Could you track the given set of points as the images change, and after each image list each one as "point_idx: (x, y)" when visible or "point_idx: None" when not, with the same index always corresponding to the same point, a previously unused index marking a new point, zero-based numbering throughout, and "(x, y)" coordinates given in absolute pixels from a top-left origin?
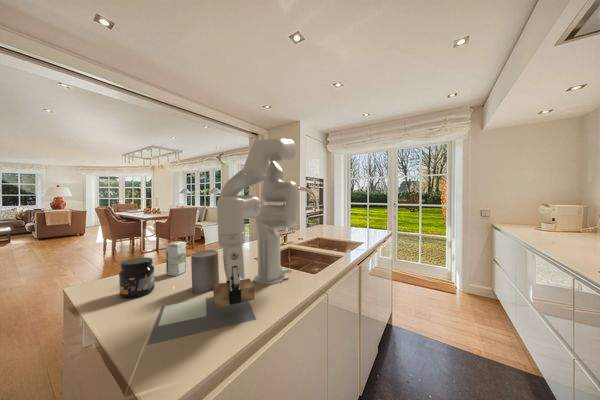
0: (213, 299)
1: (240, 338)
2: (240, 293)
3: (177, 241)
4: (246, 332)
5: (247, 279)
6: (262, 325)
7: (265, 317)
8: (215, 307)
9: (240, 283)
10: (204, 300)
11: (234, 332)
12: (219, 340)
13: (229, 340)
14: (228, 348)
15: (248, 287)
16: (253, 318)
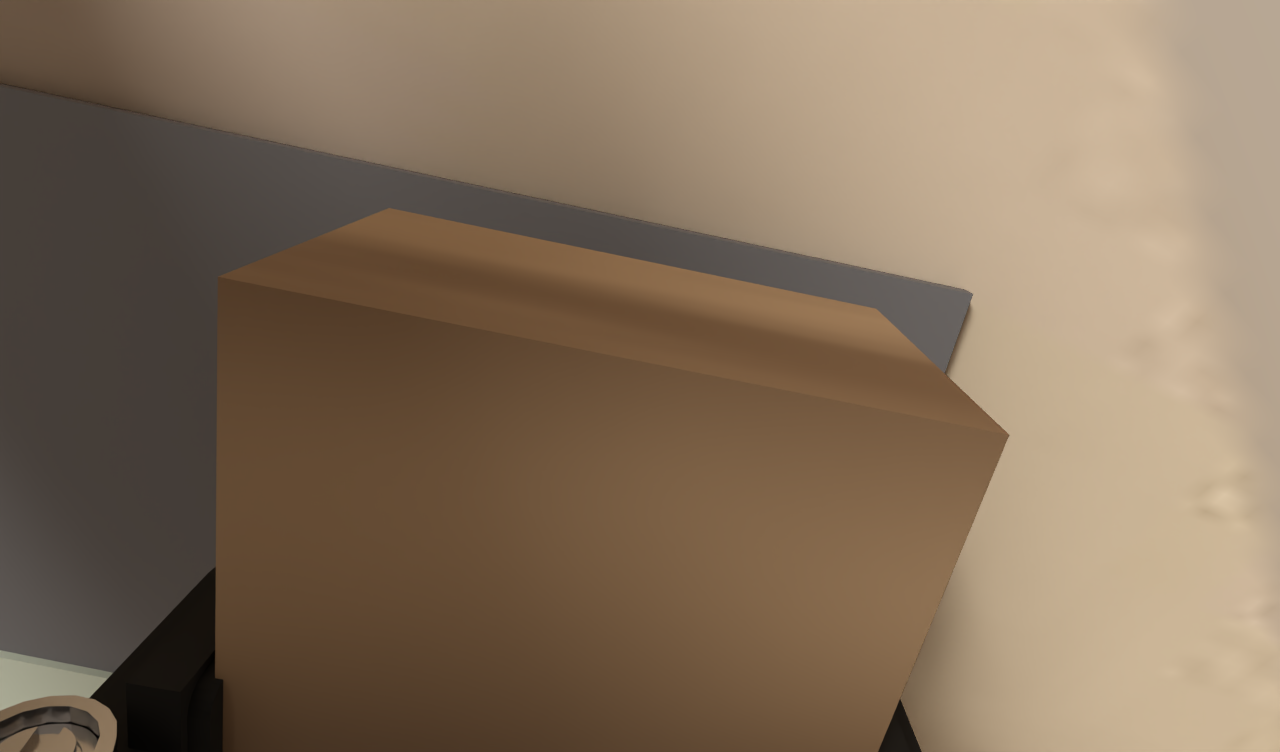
0: (47, 577)
1: (1152, 585)
2: (897, 728)
3: None
4: (1105, 496)
5: (283, 384)
6: (1134, 272)
7: (987, 136)
8: None
9: (482, 662)
10: (45, 680)
11: (997, 596)
12: (1011, 743)
13: (1090, 676)
14: (1200, 719)
15: (937, 593)
16: (927, 323)
